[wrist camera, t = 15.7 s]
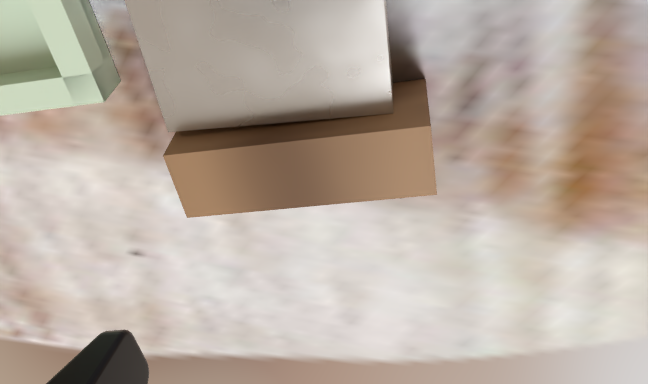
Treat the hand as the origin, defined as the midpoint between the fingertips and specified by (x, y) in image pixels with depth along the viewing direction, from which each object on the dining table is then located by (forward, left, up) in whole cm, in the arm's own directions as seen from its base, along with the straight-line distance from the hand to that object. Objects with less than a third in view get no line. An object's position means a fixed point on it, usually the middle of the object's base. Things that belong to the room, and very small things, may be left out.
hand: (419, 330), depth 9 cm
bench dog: (+3, +3, -12) cm, 13 cm away
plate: (+4, -2, -12) cm, 13 cm away
